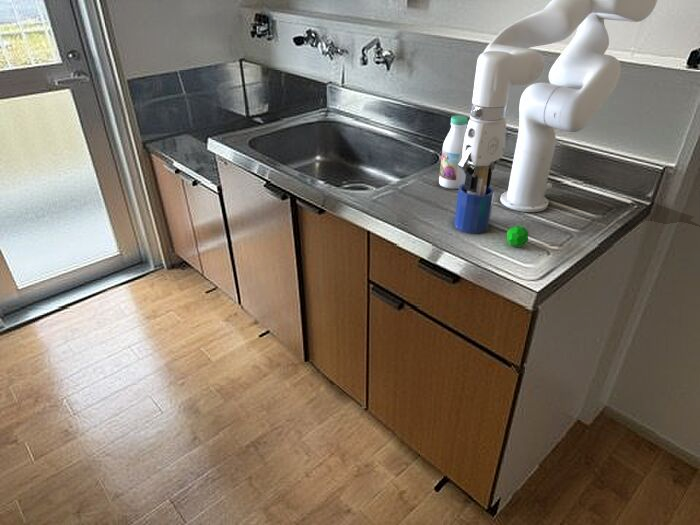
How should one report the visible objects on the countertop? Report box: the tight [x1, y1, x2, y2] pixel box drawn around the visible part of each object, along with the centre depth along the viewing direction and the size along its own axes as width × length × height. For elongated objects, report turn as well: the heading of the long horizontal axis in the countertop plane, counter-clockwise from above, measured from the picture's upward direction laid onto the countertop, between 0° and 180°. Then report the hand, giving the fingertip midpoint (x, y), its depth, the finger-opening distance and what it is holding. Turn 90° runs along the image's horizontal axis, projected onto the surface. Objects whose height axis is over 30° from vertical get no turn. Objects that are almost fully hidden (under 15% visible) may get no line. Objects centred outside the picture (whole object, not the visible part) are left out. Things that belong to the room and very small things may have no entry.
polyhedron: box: [506, 225, 529, 248], centre depth 115 cm, size 5×5×5 cm
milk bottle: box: [438, 114, 469, 190], centre depth 142 cm, size 8×8×20 cm
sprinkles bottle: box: [467, 163, 490, 195], centre depth 118 cm, size 5×5×13 cm
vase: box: [453, 183, 495, 235], centre depth 122 cm, size 8×8×10 cm
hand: (476, 187), depth 119 cm, fingers closed on sprinkles bottle, 4 cm apart
